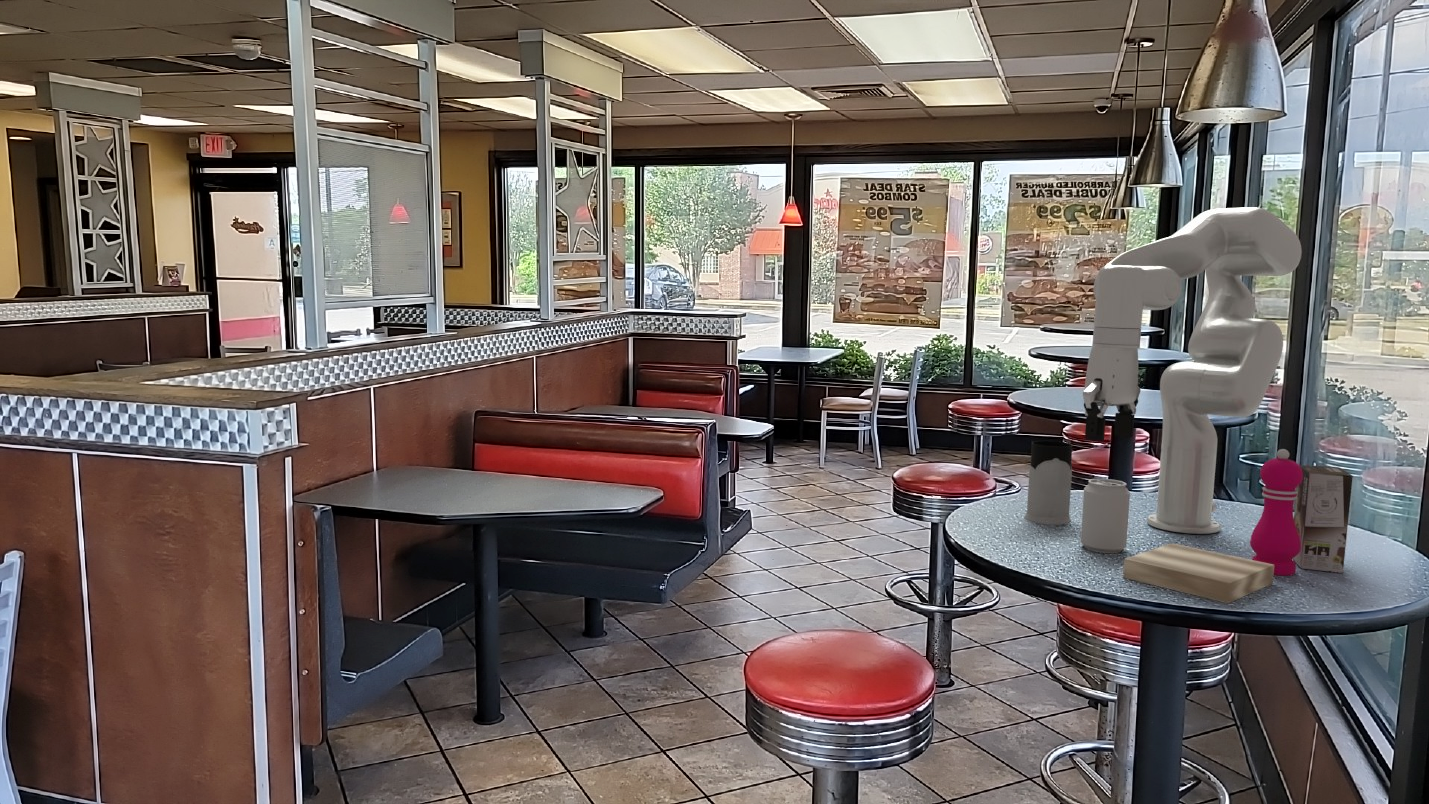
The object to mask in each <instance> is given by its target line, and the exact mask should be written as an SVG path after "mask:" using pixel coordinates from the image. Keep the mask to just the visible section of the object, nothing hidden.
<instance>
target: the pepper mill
mask: <svg viewBox="0 0 1429 804" xmlns="http://www.w3.org/2000/svg"><path fill="white" fill-rule="evenodd" d="M1276 456H1277V457H1275V458H1271V459H1268V460H1267V461H1265V462H1264V463H1263V464H1262V466H1261V468H1260V471H1259V472H1260V473H1259V477H1260V480H1261V481H1262V483H1263V484H1264V486H1263V487H1262V488H1261V489H1262V493H1261V495H1262V497H1264V505H1263V511H1262V514H1261V516H1260V518H1259V520H1258V521H1257V523H1256V525H1255V527H1254V529H1253V530H1252V532H1251V536H1250V540H1249V546H1250V547H1251V549H1252V550H1253V551H1254V553H1255V555H1253V556H1252V557H1251V560H1254V561H1259V562H1264V563H1269V564H1273V565H1274V575H1273V576H1284V577H1285V576H1288V577H1289V576H1292V575H1295V573H1296V566H1297V563H1296V562H1295V560H1294V559H1293V558H1294V557H1295V556H1296V555H1298V554H1299V552H1300V550H1301V541H1300V536H1299V533H1298V531H1297V528H1296V526H1295V522H1294V505H1295V500H1296V499H1297V493H1298V491H1297V490H1296V487H1297V486H1298V485H1300V483H1301V482H1302V479H1303V472H1302V469H1301V467H1300V466H1299V465H1300V464H1298V463H1297V462H1296V461H1294V460H1292V459H1289V457H1290V452H1289V451H1288V450H1287V449H1285V448H1281V449H1279V450H1278V451H1277V452H1276Z"/></svg>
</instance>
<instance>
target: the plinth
mask: <svg viewBox="0 0 1429 804" xmlns="http://www.w3.org/2000/svg"><path fill="white" fill-rule="evenodd" d="M1122 573H1123V574H1122V578H1124V579H1129V580H1132V581H1136V582H1140V583H1144V584H1147V585H1153V586H1156V587H1161V588H1164V589H1169V590H1173V591H1177V592H1181V593H1185V594H1189V595H1194V596H1197V597H1201V598H1206V599H1209V600H1212V601H1213V600H1214V601H1217V602H1221V603H1225V604H1230V603H1231V602H1234V601H1237V600H1238V599H1241V598H1244V597H1246V596H1248V595H1250V594H1252V593H1254V592H1257V591H1259V590H1261V589H1264V588H1265V587H1268V586H1270V585H1273V584H1274V576H1275V575H1274V565H1273V564H1269V563H1264V562H1259V561H1254V560H1252V559H1249V558H1244V557H1239V556H1234V555H1229V554H1226V553H1220V552H1215V551H1211V550H1206V549H1203V548H1202V549H1201V548H1196V547H1193V546H1188V545H1182V544H1177V543H1174V542H1173V543H1169V544H1166V545H1162V546H1158V547H1156V548H1154V549H1150V550H1147V551H1144V552H1141V553H1138V554H1136V555H1135V554H1134V555H1132V556H1128V557H1126V558H1124V559H1123V572H1122Z"/></svg>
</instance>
